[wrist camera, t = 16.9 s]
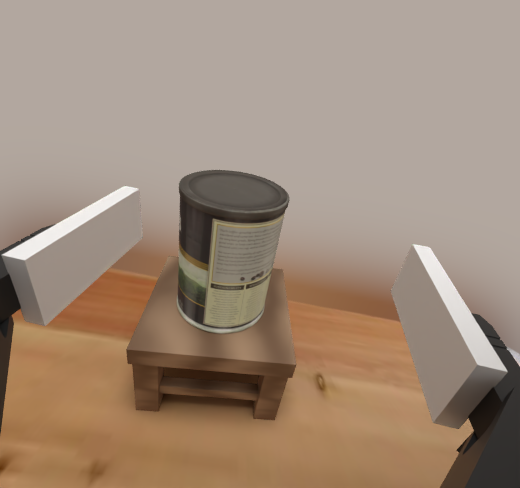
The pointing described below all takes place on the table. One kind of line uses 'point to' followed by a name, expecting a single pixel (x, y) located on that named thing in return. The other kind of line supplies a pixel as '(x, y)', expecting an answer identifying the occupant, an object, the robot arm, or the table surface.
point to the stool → (211, 350)
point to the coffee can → (227, 247)
